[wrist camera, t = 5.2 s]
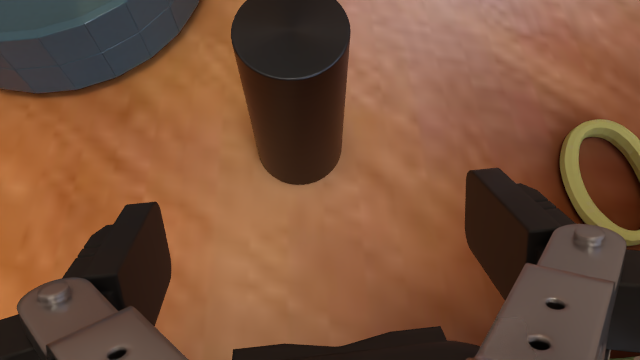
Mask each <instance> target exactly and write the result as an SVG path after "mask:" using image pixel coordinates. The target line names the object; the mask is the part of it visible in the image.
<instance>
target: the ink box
mask: <svg viewBox="0 0 640 360" xmlns="http://www.w3.org/2000/svg"><path fill="white" fill-rule="evenodd" d="M609 360H640V356H636V357H626V358H617V359H609Z"/></svg>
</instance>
